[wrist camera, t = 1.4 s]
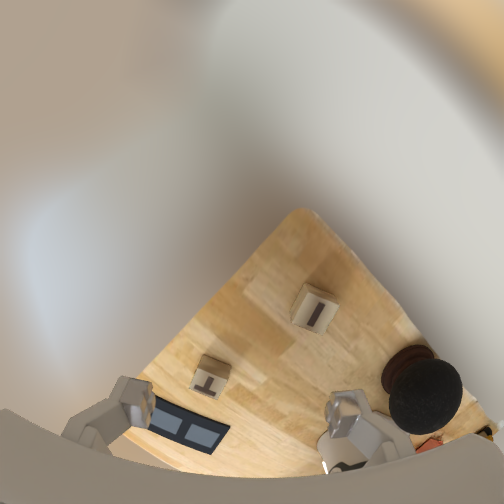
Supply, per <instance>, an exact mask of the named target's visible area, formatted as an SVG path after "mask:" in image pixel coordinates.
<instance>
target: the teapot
mask: <svg viewBox="0 0 504 504" xmlns="http://www.w3.org/2000/svg"><path fill="white" fill-rule="evenodd" d="M441 445H443V442H442V441H436V440H434V439H430V440H429V441H428V442H426V443H424V445H423V446H422V447H420V448H419V449H418V450H417V451H416V453H417V454H418V453H421V452H424V451H427V450H430V449H433V448H435V447H438V446H441Z"/></svg>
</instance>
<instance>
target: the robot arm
mask: <svg viewBox="0 0 504 504" xmlns="http://www.w3.org/2000/svg"><path fill="white" fill-rule="evenodd" d="M152 389H153V385H152V382H148V381H144V380H139V379H135V378H130V377H125V376H120V377H119V379H118V380H117V382H116V384H115V386H114V388H113V390H112V392H111V394H110V396H109V398H108V399H104V400H102V401H101V402H98V403H97V404H95V405H93V406H91V407H90V408H88V409H86V410H84V411H82V412H81V413H79V414H77V415H75V416H73V417H71V418H70V419H69V421H68V423H67V425H66V427H65V429H64V431H63V433H62V434H61V436H58V435H56V434H54V433H52V432H50V431H48V430H46V429H44V428H42V427H40V426H38V425H36V424H34V423H32V422H30V421H28V420H26V419H24V418H23V417H21V416H19V415H17V414H16V413H14V412H12V411H10V410H8V409H3V410H0V504H504V455H503V453H502V452H501V450H500V449H499V447H498V446H497V445H496V444H495V443H494V442H492V441H490V440H488V439H486V438H484V437H482V436H479V435H477V434H474V433H469V434H467V435H464V436H462V437H460V438H458V439H455V440H453V441H451V442H448V443H446V444H443V445H441V446H438V447H435V448H433V449H430V450H427V451H424V452H421V453H418V454H417V453H416V451H415V449H414V446H413V444H412V442H411V440H410V437H409V436H410V433H407V432H405V431H403V430H402V429H400V428H399V427H398V426H397V425H396V424H395V422H394V421H393V419H392V418H391V417H389V416H386V415H384V414H382V413H380V412H378V411H373V412H372V410H371V408H370V405H369V403H368V400H367V398H366V396H365V393H364V391H363V390H362V389H358V390H346V391H335V392H331V393H330V396H329V399H330V401H329V402H327V404H326V406H325V419H326V421H327V422H328V423H329V426H328V431H327V432H325V433H324V434H323V435H322V436H321V437H320V439H319V441H318V443H317V450H318V452H319V453H320V455H321V457H322V459H323V466H324V468H325V471H326V474H322V475H313V476H302V477H285V478H240V477H223V476H212V475H202V474H194V473H187V472H181V471H175V470H169V469H163V468H158V467H154V466H149V465H145V464H141V463H137V462H133V461H129V460H125V459H122V458H119V457H115V456H113V455H112V453H111V451H110V450H109V448H108V447H107V446H108V445H109V444H110V443H111V442H113V441H114V440H115V439H117V438H118V437H119V436H120V435H122V434H123V433H124V432H125V431H126V430H128V429H129V428H130V427H131V426H134V427H139V428H144V429H148V427H149V424H150V421H151V416H150V414H151V413H152V412H154V408H155V403H156V399H155V393H154V392H153V391H152Z"/></svg>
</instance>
